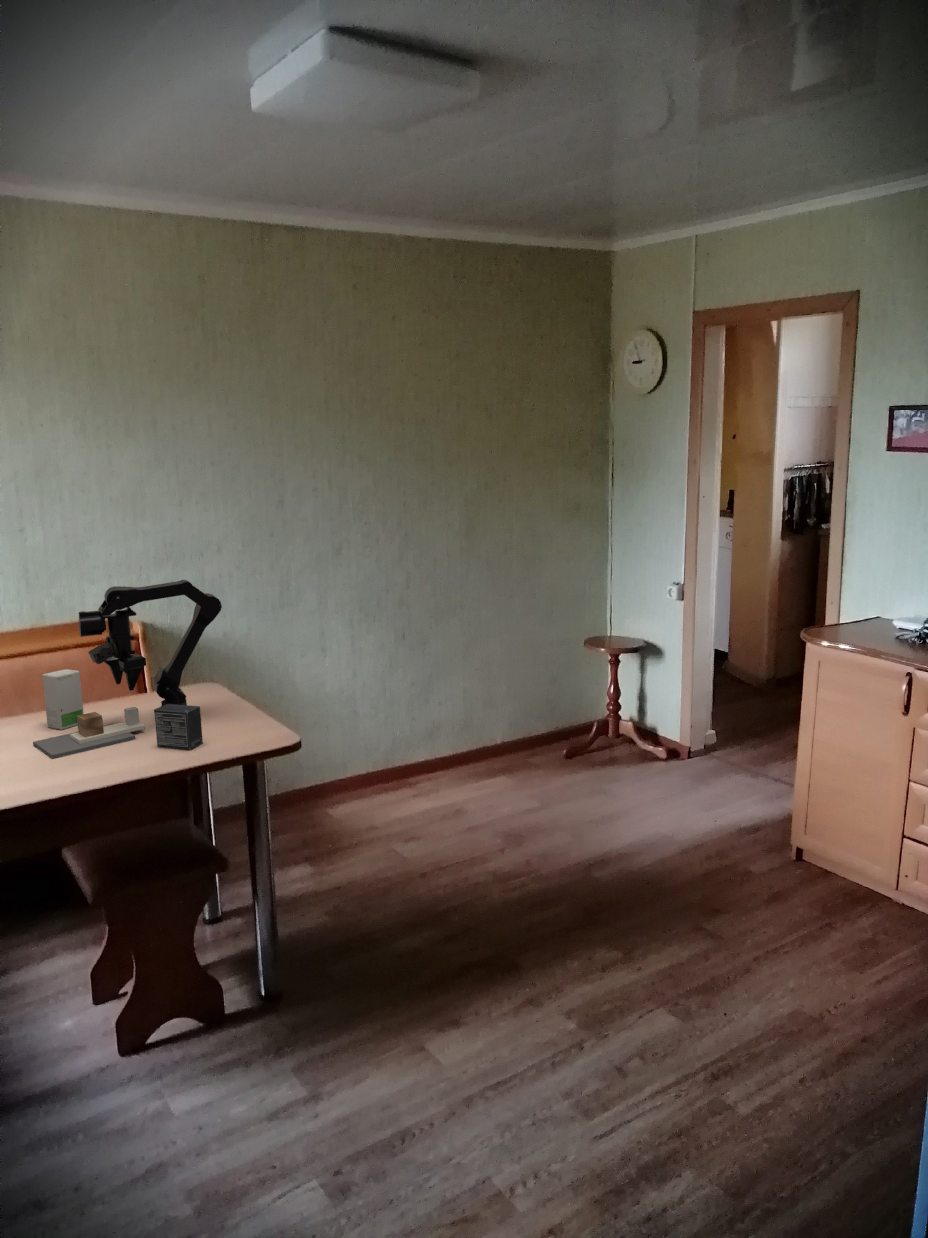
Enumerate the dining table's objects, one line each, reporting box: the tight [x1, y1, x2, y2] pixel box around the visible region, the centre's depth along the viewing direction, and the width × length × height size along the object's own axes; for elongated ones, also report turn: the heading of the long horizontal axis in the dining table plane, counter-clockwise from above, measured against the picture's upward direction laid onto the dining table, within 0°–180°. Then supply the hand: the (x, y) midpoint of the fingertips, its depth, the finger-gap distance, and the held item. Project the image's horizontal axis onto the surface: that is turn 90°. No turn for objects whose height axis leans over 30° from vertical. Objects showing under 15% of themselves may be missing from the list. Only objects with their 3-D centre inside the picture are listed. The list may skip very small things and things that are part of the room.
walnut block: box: [77, 711, 104, 738], centre depth 261 cm, size 5×5×5 cm
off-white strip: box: [69, 706, 146, 744], centre depth 264 cm, size 18×7×6 cm, turn 131°
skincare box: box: [41, 668, 85, 731], centre depth 275 cm, size 8×7×16 cm
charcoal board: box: [32, 723, 136, 760], centre depth 260 cm, size 22×15×1 cm
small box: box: [153, 704, 204, 751], centre depth 255 cm, size 11×6×10 cm, turn 71°
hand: (124, 687), depth 269 cm, fingers open, 9 cm apart
